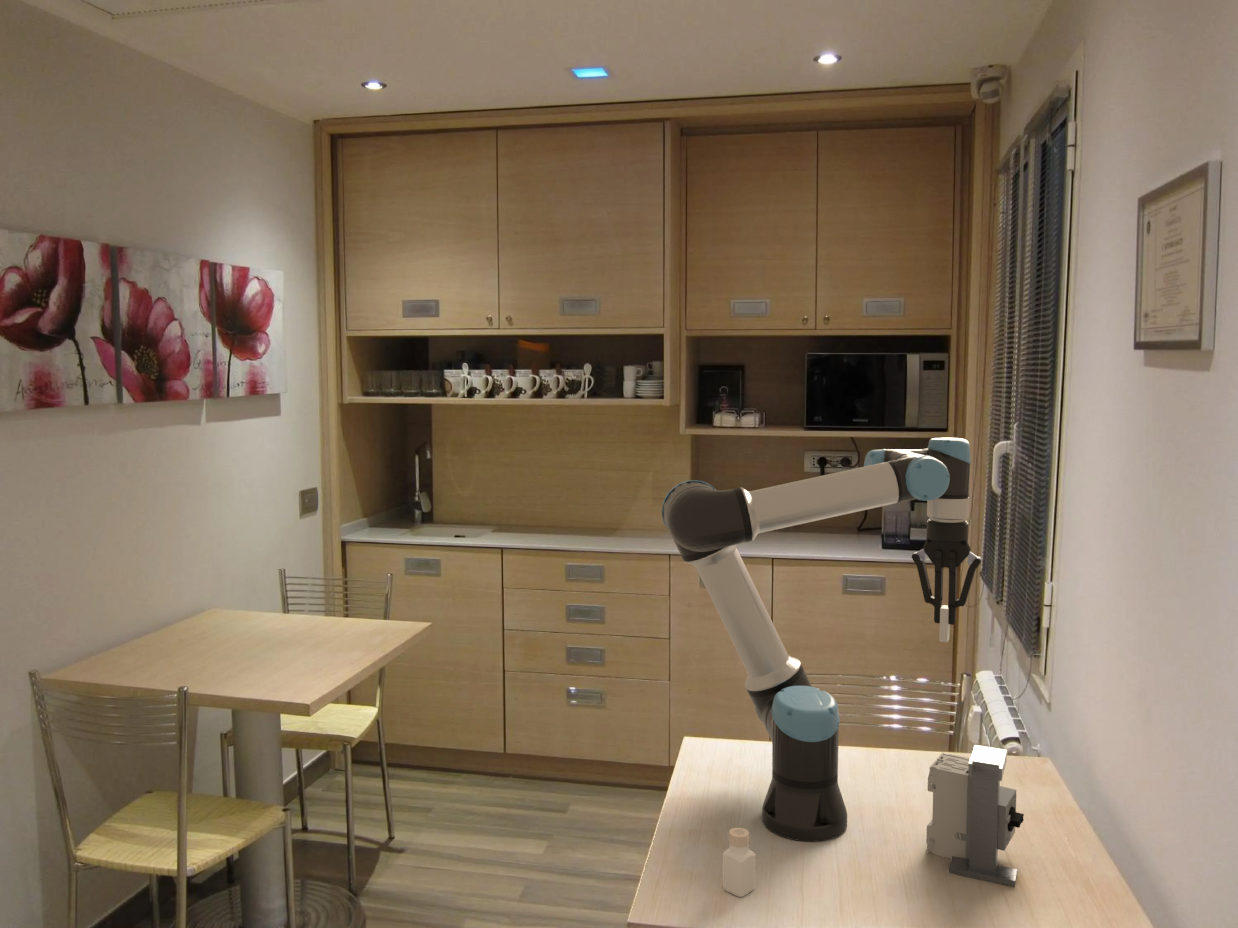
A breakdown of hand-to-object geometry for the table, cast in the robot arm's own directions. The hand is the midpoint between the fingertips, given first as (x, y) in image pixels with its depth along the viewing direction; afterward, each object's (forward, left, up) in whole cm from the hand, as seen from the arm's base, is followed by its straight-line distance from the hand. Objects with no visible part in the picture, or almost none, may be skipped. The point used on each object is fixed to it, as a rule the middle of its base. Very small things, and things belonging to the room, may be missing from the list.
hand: (944, 639), depth 188 cm
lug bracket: (+11, -29, -29) cm, 43 cm away
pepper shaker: (-23, -53, -30) cm, 65 cm away
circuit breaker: (+9, -25, -30) cm, 40 cm away
